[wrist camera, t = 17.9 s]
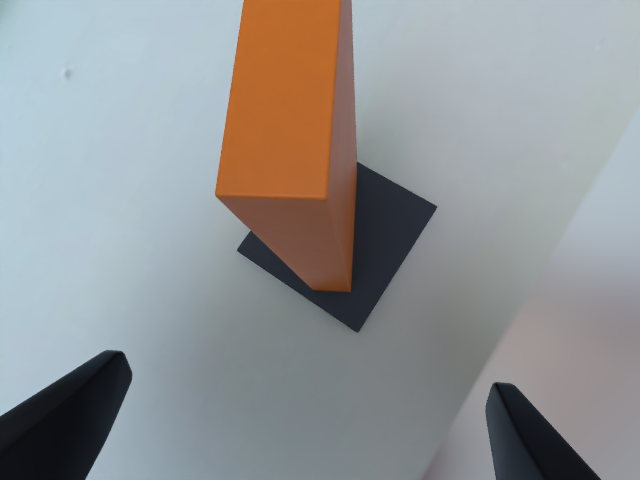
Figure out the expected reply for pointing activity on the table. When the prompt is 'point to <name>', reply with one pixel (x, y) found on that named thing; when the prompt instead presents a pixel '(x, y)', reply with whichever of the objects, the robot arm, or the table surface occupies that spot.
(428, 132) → the table surface
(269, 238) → the block
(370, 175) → the coaster
